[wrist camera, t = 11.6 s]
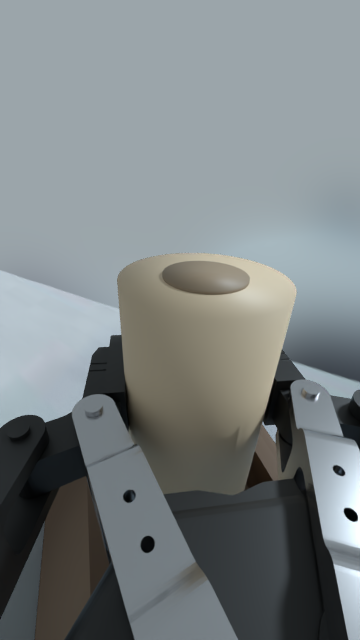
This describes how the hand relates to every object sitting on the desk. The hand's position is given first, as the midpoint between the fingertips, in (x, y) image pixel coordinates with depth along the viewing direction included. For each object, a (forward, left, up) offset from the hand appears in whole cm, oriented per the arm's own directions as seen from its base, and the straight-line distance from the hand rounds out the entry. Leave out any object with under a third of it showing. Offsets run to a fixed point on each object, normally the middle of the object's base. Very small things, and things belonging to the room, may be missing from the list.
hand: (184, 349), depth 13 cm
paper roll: (0, +3, -6) cm, 7 cm away
